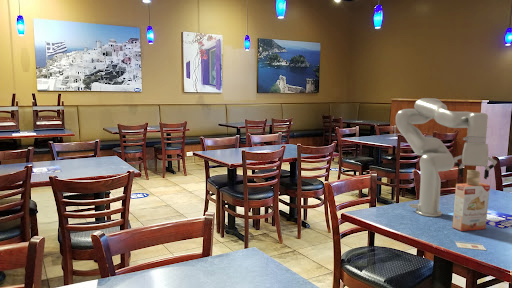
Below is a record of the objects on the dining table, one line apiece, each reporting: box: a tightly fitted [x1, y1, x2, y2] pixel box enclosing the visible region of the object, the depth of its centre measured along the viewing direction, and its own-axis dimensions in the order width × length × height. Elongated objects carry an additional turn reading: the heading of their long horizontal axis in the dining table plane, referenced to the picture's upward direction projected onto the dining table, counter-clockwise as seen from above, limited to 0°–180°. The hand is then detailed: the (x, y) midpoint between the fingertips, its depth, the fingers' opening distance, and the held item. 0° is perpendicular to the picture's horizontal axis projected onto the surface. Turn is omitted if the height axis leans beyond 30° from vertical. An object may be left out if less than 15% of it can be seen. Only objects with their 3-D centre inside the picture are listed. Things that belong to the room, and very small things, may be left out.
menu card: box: [454, 240, 487, 251], centre depth 156 cm, size 10×7×1 cm
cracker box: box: [451, 182, 491, 232], centre depth 176 cm, size 14×6×21 cm, turn 105°
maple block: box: [466, 169, 481, 186], centre depth 175 cm, size 4×4×6 cm
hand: (473, 177), depth 175 cm, fingers open, 9 cm apart
